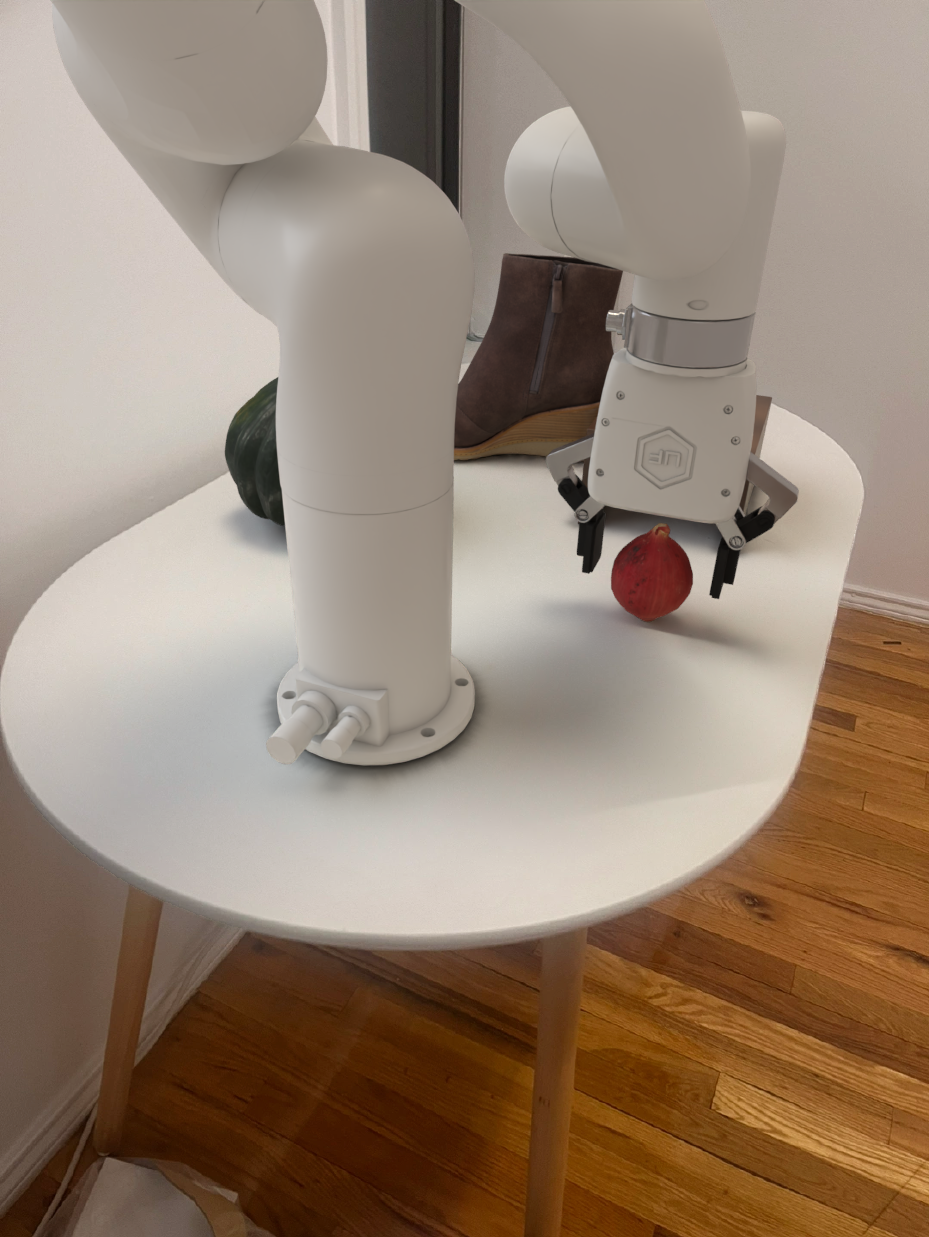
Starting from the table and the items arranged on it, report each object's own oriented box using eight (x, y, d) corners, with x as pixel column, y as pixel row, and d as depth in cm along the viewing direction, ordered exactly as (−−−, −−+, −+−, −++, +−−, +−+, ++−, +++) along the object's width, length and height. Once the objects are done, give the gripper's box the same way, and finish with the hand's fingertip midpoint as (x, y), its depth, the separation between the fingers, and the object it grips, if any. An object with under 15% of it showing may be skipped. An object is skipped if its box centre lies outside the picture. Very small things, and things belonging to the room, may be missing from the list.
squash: (299, 413, 87) (232, 320, 73) (438, 442, 83) (395, 349, 69) (246, 542, 84) (166, 471, 70) (389, 578, 80) (333, 510, 66)
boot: (391, 430, 100) (386, 239, 89) (605, 441, 98) (627, 248, 87) (377, 459, 92) (369, 255, 82) (608, 472, 91) (632, 265, 80)
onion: (625, 645, 63) (639, 546, 59) (594, 605, 68) (605, 511, 64) (697, 635, 65) (716, 538, 60) (662, 596, 69) (677, 503, 65)
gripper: (538, 336, 55) (523, 578, 64) (832, 370, 50) (770, 627, 59) (570, 310, 61) (553, 534, 70) (836, 338, 56) (780, 576, 65)
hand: (652, 576), depth 64 cm, fingers open, 8 cm apart
